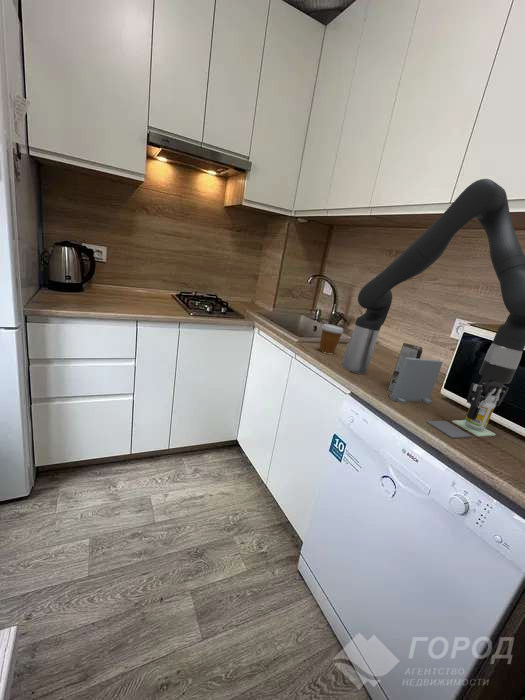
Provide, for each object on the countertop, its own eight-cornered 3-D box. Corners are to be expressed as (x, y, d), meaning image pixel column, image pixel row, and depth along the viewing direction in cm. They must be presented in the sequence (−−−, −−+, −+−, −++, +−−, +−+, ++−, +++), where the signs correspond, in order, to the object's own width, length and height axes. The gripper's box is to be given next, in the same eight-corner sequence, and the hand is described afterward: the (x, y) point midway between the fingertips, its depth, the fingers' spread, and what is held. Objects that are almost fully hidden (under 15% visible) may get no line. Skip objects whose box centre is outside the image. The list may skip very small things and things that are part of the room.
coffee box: (407, 396, 111) (422, 351, 107) (387, 390, 114) (402, 345, 109) (408, 389, 119) (423, 347, 115) (389, 383, 122) (403, 341, 117)
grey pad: (426, 422, 92) (427, 421, 92) (445, 422, 96) (445, 420, 96) (452, 438, 85) (452, 437, 85) (471, 437, 89) (471, 435, 89)
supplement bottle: (477, 421, 98) (489, 391, 95) (489, 430, 93) (503, 399, 90) (460, 418, 98) (472, 388, 95) (472, 427, 92) (485, 395, 90)
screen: (386, 396, 107) (400, 355, 103) (420, 396, 114) (434, 358, 110) (398, 403, 103) (412, 361, 99) (432, 403, 110) (447, 364, 106)
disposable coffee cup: (317, 352, 144) (324, 326, 140) (314, 347, 153) (321, 322, 150) (338, 357, 144) (346, 331, 140) (335, 351, 153) (342, 326, 150)
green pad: (452, 421, 97) (452, 420, 97) (469, 421, 101) (469, 419, 100) (478, 436, 90) (478, 435, 90) (495, 435, 94) (495, 434, 94)
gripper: (501, 359, 97) (479, 411, 101) (471, 356, 90) (449, 412, 95) (529, 369, 90) (504, 424, 95) (499, 366, 84) (473, 425, 88)
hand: (477, 418), depth 95 cm, fingers closed on supplement bottle, 5 cm apart
